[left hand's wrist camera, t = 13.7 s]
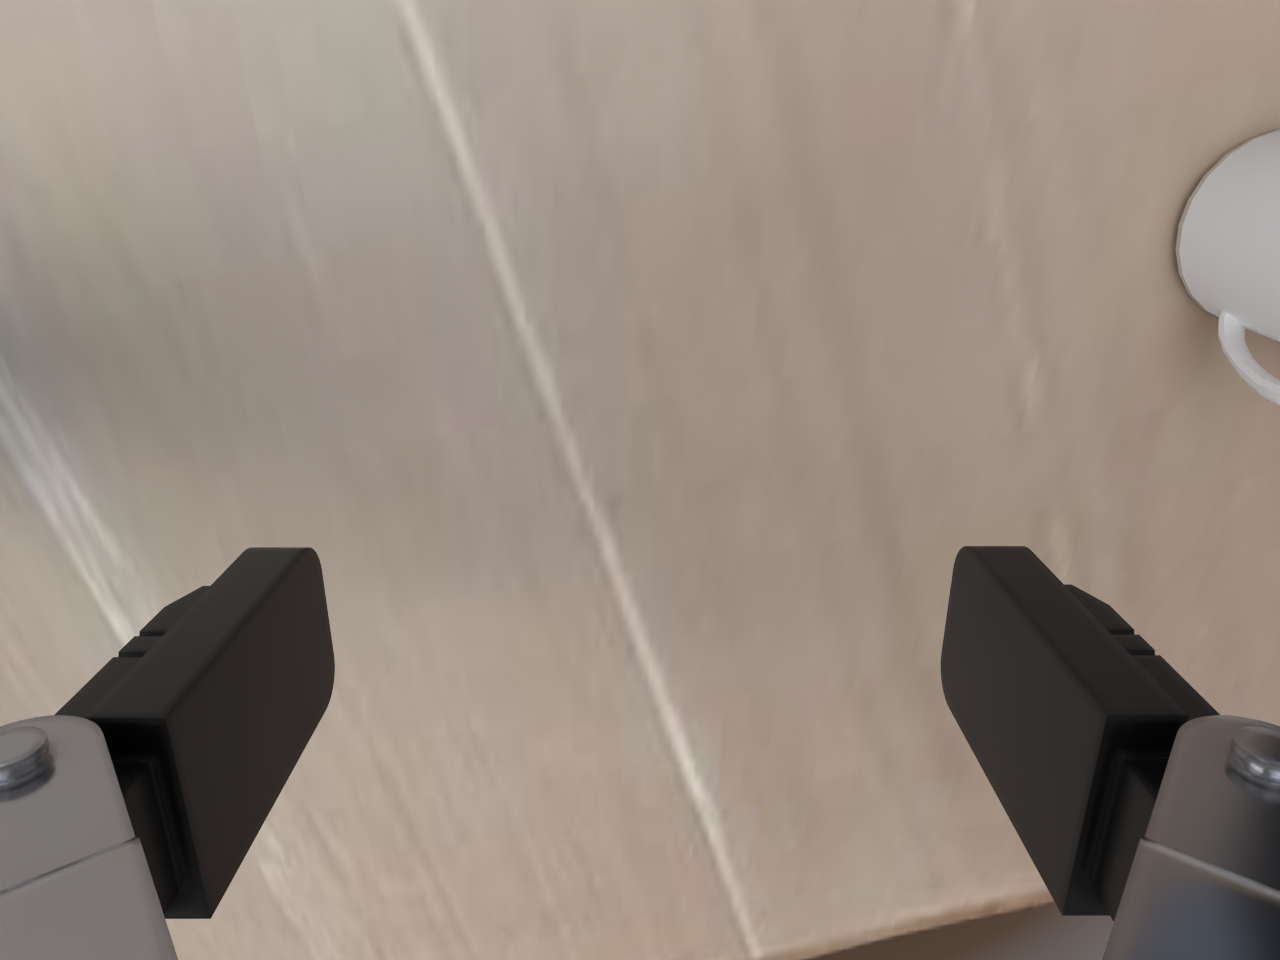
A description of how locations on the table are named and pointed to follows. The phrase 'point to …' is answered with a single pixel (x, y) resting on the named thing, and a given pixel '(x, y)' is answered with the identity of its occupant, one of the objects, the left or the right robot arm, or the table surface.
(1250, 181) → the mug
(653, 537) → the table surface
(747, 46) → the table surface
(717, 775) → the table surface
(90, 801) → the left robot arm
